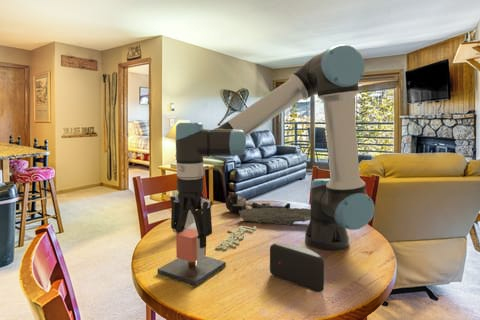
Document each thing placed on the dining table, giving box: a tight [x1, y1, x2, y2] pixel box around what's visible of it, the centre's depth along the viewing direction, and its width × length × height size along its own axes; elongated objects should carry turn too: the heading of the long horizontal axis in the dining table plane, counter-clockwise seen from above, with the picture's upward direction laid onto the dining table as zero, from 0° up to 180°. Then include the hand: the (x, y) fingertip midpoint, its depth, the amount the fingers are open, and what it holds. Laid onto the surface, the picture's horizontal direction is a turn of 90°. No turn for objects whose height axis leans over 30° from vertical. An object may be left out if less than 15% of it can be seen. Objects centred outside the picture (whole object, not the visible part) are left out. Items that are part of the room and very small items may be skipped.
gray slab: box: [157, 255, 227, 288], centre depth 93 cm, size 14×14×6 cm
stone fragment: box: [238, 207, 311, 225], centre depth 136 cm, size 31×9×5 cm
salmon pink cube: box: [175, 229, 207, 262], centre depth 93 cm, size 6×6×7 cm
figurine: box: [225, 194, 291, 214], centre depth 150 cm, size 20×9×30 cm
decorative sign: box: [215, 225, 257, 252], centre depth 120 cm, size 26×1×10 cm
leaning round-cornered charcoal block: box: [269, 242, 325, 293], centre depth 86 cm, size 16×5×9 cm, turn 50°
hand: (191, 255), depth 93 cm, fingers closed on salmon pink cube, 6 cm apart
